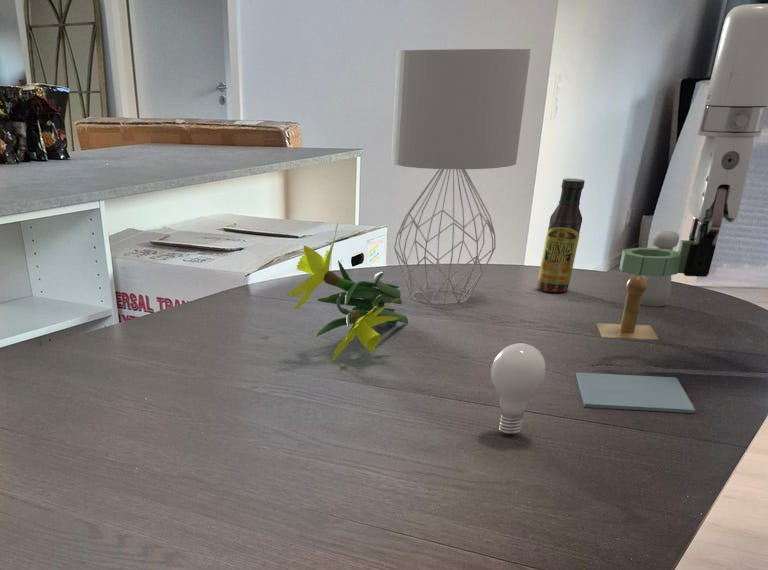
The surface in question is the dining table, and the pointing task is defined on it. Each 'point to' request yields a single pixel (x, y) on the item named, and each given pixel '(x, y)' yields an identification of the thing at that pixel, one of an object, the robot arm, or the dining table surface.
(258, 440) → the dining table surface
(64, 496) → the dining table surface
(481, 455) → the dining table surface
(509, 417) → the lightbulb
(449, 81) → the table lamp
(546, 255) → the sauce bottle
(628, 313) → the peg stand
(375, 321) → the daffodil flowers
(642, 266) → the ring
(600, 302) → the dining table surface
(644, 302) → the salt shaker
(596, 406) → the mat
